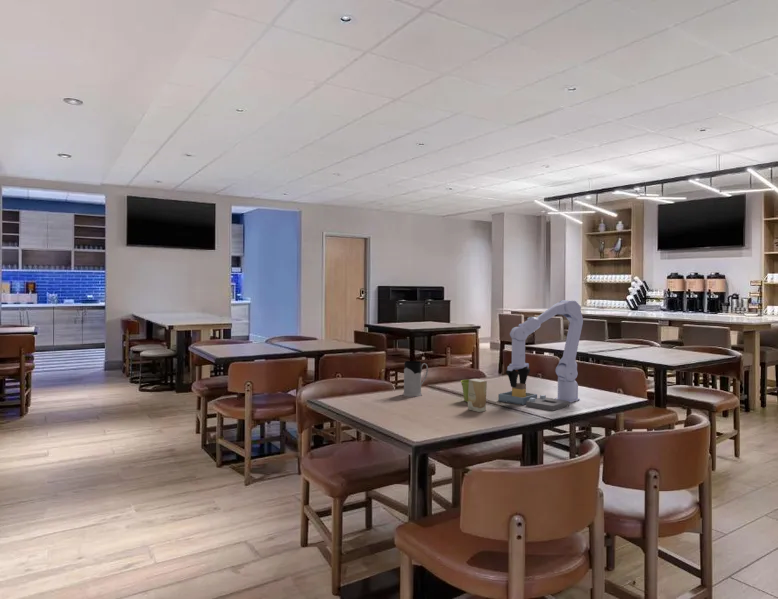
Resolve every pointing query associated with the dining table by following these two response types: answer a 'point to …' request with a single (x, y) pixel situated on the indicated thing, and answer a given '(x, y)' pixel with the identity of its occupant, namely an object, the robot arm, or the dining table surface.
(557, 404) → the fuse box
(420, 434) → the dining table surface
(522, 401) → the parts tray
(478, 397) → the skincare box
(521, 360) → the robot arm
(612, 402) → the dining table surface
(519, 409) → the dining table surface
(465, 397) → the plant pot
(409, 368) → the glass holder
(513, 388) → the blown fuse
